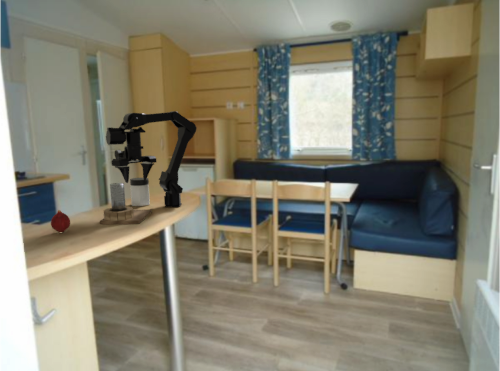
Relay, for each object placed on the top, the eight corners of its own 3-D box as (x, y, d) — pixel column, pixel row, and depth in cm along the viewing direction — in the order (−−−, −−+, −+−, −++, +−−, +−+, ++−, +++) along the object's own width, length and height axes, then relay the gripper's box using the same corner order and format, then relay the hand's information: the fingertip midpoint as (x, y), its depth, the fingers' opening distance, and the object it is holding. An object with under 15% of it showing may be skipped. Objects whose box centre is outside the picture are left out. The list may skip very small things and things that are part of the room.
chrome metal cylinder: (126, 215, 140) (124, 182, 138) (125, 218, 135) (123, 184, 133) (113, 216, 139) (110, 183, 137) (111, 219, 134) (109, 185, 132)
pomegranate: (75, 231, 123) (72, 208, 122) (61, 236, 118) (59, 212, 117) (62, 229, 125) (59, 207, 124) (48, 234, 120) (45, 211, 118)
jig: (151, 212, 150) (151, 202, 149) (139, 223, 132) (138, 212, 131) (117, 212, 149) (116, 202, 149) (100, 224, 132) (99, 213, 131)
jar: (135, 207, 159) (134, 180, 157) (127, 204, 165) (126, 178, 163) (154, 204, 165) (152, 178, 163) (145, 201, 171) (144, 176, 169)
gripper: (139, 142, 158) (141, 177, 161) (101, 144, 143) (104, 182, 146) (156, 143, 152) (158, 179, 155) (119, 145, 137) (121, 185, 140)
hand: (136, 181), depth 149 cm, fingers open, 9 cm apart
